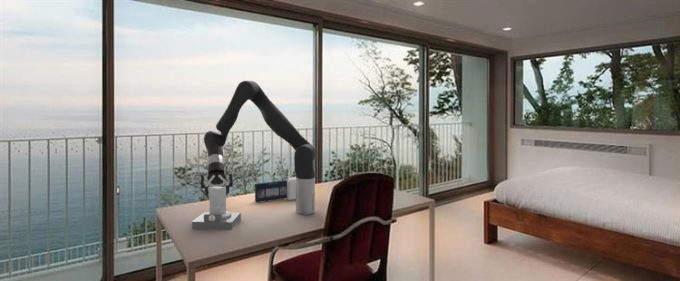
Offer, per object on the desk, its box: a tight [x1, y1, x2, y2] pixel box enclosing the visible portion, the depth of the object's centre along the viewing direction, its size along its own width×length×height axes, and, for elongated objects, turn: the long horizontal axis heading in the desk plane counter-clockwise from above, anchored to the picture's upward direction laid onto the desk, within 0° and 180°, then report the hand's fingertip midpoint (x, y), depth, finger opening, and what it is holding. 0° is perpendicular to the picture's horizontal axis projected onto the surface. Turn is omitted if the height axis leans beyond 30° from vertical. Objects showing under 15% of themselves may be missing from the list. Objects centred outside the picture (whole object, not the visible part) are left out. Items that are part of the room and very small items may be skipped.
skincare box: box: [208, 185, 227, 215], centre depth 169 cm, size 6×4×12 cm
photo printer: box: [286, 176, 296, 201], centre depth 212 cm, size 10×4×12 cm, turn 123°
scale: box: [191, 210, 242, 230], centre depth 168 cm, size 17×14×6 cm
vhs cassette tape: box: [254, 179, 288, 203], centre depth 209 cm, size 18×3×10 cm, turn 120°
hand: (217, 194), depth 174 cm, fingers open, 8 cm apart
